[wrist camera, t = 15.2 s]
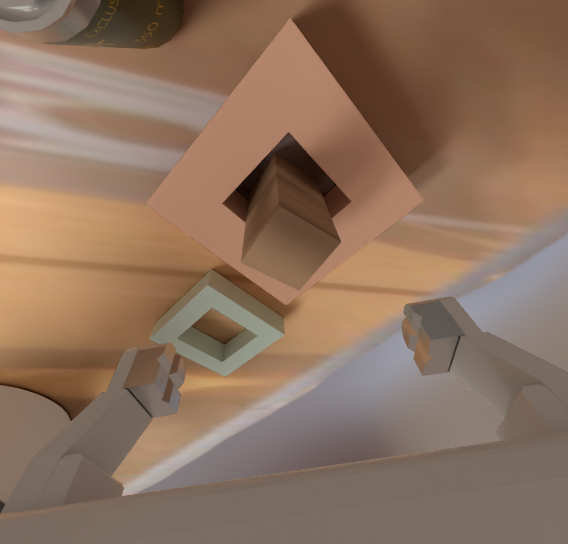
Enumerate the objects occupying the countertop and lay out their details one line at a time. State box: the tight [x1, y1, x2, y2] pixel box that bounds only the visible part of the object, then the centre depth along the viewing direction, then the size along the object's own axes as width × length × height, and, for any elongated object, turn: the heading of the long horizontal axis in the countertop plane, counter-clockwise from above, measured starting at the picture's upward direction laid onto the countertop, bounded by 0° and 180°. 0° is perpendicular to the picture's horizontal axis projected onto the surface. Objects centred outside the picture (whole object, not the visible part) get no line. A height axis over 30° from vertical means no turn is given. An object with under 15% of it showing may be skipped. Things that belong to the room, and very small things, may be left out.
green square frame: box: [149, 269, 285, 377], centre depth 32 cm, size 10×10×2 cm
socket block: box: [145, 18, 424, 305], centre depth 22 cm, size 14×14×4 cm
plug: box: [241, 152, 341, 291], centre depth 20 cm, size 4×4×10 cm
